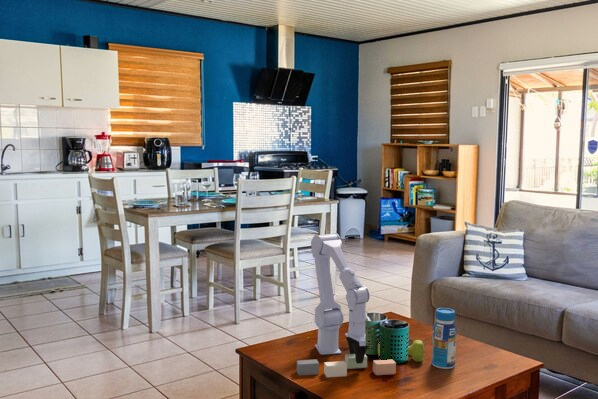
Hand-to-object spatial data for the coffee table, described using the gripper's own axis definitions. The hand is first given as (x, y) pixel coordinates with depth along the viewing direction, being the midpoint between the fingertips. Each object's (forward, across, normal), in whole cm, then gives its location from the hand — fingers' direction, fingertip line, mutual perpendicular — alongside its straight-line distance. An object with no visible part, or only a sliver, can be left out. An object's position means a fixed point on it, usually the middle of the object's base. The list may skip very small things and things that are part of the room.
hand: (356, 358), depth 207 cm
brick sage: (+3, 0, 0) cm, 3 cm away
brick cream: (+3, +6, -9) cm, 11 cm away
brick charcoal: (+3, +3, -18) cm, 18 cm away
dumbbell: (+3, -4, +18) cm, 19 cm away
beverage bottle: (+3, +4, +31) cm, 31 cm away
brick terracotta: (+3, +7, +8) cm, 11 cm away
